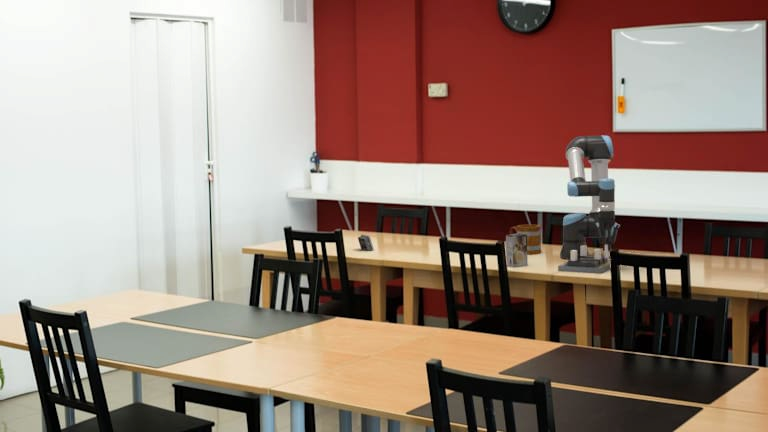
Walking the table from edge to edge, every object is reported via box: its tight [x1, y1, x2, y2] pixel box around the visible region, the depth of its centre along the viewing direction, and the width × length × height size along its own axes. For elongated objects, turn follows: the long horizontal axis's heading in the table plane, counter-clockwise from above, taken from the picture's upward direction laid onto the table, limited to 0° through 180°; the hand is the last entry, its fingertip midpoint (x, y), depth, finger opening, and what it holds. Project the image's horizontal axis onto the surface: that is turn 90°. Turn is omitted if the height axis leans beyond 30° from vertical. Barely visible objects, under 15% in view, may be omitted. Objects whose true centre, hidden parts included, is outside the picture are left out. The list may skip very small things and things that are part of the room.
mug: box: [509, 223, 542, 256], centre depth 565 cm, size 20×14×15 cm
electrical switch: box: [357, 233, 375, 252], centre depth 590 cm, size 9×5×9 cm, turn 30°
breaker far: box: [580, 244, 588, 256], centre depth 519 cm, size 3×2×5 cm
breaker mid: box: [593, 248, 602, 260], centre depth 508 cm, size 3×2×5 cm
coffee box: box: [505, 233, 529, 268], centre depth 524 cm, size 9×6×16 cm
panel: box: [557, 254, 611, 274], centre depth 511 cm, size 26×22×4 cm
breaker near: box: [570, 250, 577, 261], centre depth 505 cm, size 3×2×5 cm
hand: (606, 257), depth 506 cm, fingers closed
